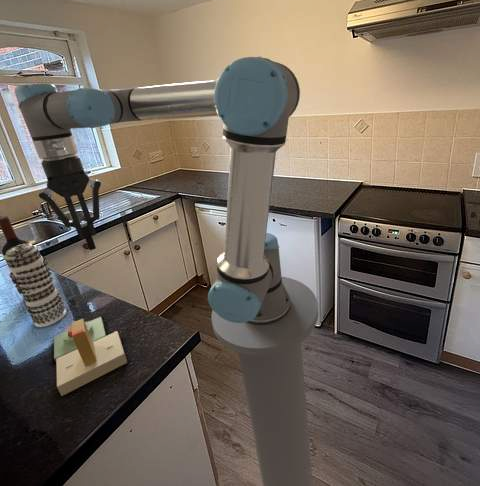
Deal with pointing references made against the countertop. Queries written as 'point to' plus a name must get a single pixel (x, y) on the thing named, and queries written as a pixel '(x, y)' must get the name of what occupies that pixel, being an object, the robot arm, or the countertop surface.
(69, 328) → the bell button
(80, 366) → the plate
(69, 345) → the green push button box
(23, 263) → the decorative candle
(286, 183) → the countertop surface
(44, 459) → the countertop surface
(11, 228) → the wine bottle
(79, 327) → the thumbturn
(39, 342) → the countertop surface
